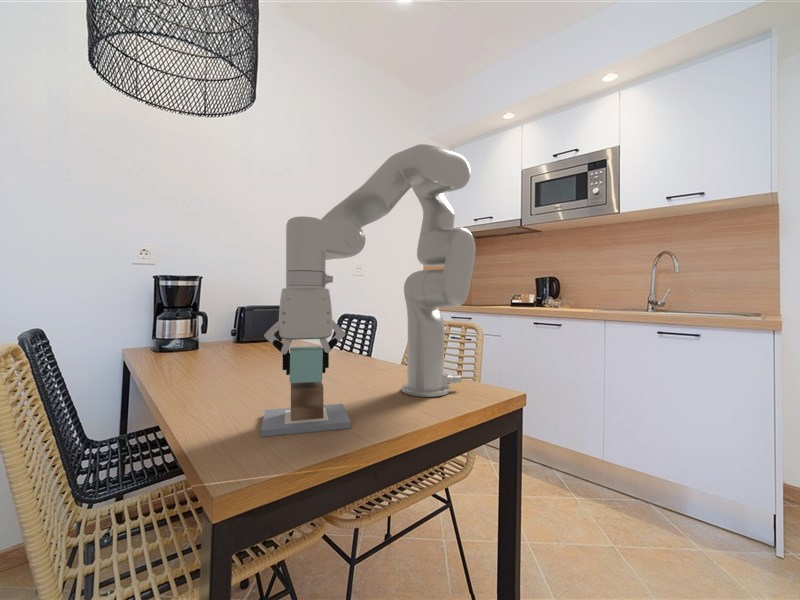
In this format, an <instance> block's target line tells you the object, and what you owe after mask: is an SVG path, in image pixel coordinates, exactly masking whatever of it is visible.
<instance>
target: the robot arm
mask: <svg viewBox="0 0 800 600" xmlns="http://www.w3.org/2000/svg"><path fill="white" fill-rule="evenodd" d="M470 166H471V165H470V164H469V162H468V160H467V159H466V158H465V156H463V155H461V154H460V153H458V152H455V151H451V150H448V149H445V148H442V147H439V146H435V145H430V144H416V145H413V146H411V147H408V148H407V149H404V150H401V151H398V152H396V153H394V154H392V155H391V156H389V157H388V158H387V159H386V160H385V161H384V163H382V165H381V166H379V167H378V168H377V170H375V172H374V173H373V174H372V175H370V177H369V178H368V179H366V181H365V182H364V183H363V184H362V185H361V186H360V187H359V188H357V189H355V190H354V191H353V192H352V193H350V194H349V195H348V196H347V197H345V199H343V200H341V202H339V203H338V204H337V205H335V206H334V207H333V208H332V209H330V210H329V211H328V212H327V213H326V214H325V215H324V216H322V218H321V219H320V218H318V217H312V216H293V217H290V218H289V219H288V220H287V222H286V225H285V226H286V228H285V265H286V267H285V268H286V269H285V282H286V283H285V287H284V288H283V287H282V288H281V292H280V300H279V311H278V321H277V322H275V323H274V324H273V325H272V326H271V327H270V328H269V329H268V330H267V331H266V332H265V333H264V335H263V336H264V338H265V339H266V340H267V341H268V342H269V343H271V344H272V346H274V347H275V349H276V350H278V352H280V353H281V354H282V371H286V372H285V375H286V376H290V347H291V344H292V341H293V340H294V341H296V340H297V341H298V340H319V342H320V344H321V348H322V350H323V368H322V374H326V369H329V367H330V361H329V360H330V358H329V355H330V352H331V351H332V349H333V348H335V346H336V345H337V344H338V343H339V342H340V341H341V340H342V339H343V338H344V337H345V336H346V332H345V330H343V329H342V328H341V327H340V326H339V325H338V324H337V323H336V322H335V321H334V320H333V312H332V311H333V310H332V302H331V294H330V293H331V292H330V289H329V288H326V286H327V284H330V283H334V276H333V275H329V274H327V272H326V262H327V261H331V260H334V259H338V260H339V259H348V258H353V257H355V256H357V255H358V254H360V253H361V252H362V251H363V250H364V247H365V245H366V235H365V232H364V230H363V227H365V226H367V225H369V224H372V223H374V222H376V221H378V220H380V219H382V218H383V217H385V216H387V215H388V214H389V213H390V212H391V211H392V210H393V209H394V208H395V206H397V204H398V203H399V201H401V200H402V198H403V197H404V196H405V195H406V193H407V192H408V191H409V190H410V189H412V191H413V192H414V194H415V196H416V198H417V199H418V201H419V204H420V205H421V209H422V220H421V221H422V222H421V227H420V231H419V232H420V233H419V237H418V242H417V247H416V257H417V260H418V262H419V264H421V265H423V266H424V267H431V268H433V267H434V268H437V267H440V268H441V267H444V268H443V269H442V268H441V269H425V270H424V269H423V270H418V271H415V272H413V273H410V274H409V275H408V276H407V277H406V279H405V281H404V286H403V294H404V301H405V305H406V311H407V382H405V383H404V384H402V385H401V392H403V394H406V395H409V396H414V397H421V398H426V397H427V398H431V397H432V398H434V397H442V396H446V395H448V394H449V393H450V392H451V390H450V389H451V387H450V385H451V384H459V383H461V382H462V376H461V375H453V374H447V373H445V323H444V319H443V316H442V312H441V311H440V308H449V309H450V308H458V307H460V306H462V305H464V303H465V302H466V301H467V299H468V295H469V293H470V288H471V284H472V278H473V271H474V266H475V260H476V250H477V248H476V242H475V238H474V236H473V234H472V233H471V232H470V230H468V228H464V227H461V226H458V227H457V226H456V227H455V225H454V224H455V218H456V217H455V211H454V208H453V207H452V205H451V204H450V202H449V201H448V199H446V197H445V195H444V194H445V193H446V194H447V193H450V192H454V191H458V190H461V189H463V188H465V187H466V186H467V184H468V183H469V181H470V179H471V167H470ZM333 331H334V332H335V335H334V336H333V337H332V338H331V339H330V340H329V341H328V338H330V337H331V336H332V335H333ZM277 332H278V335H279V336H280V338H281V339H283V340H284V341H283V343H282V342H281V341H280V340H279V339H278V338H277V337H276V336H275V333H277Z"/></svg>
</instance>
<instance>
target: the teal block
mask: <svg viewBox="0 0 800 600" xmlns="http://www.w3.org/2000/svg"><path fill="white" fill-rule="evenodd" d="M322 348H323V347H322V345H319V346H318V345H317V346H311V345H310V346H290V347H289V353H290V374H289V383H290V384H291V383H301V382H322V383H323V373H322V368H323V350H322Z"/></svg>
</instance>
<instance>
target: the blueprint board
mask: <svg viewBox="0 0 800 600" xmlns="http://www.w3.org/2000/svg"><path fill="white" fill-rule="evenodd" d="M351 428H352V420H351V418H350V416H349V414H348V412H347V410H346V408H345V405H344V404H343V403H334V404H323V418H320V419H309V420H298V421H291V407H285V408H283V407H282V408H271V409H270V408H269V409H265V410H264V415H263V418H262V422H261V427H260V437H261V438H263V437H273V436H274V437H275V436H282V435H292V434H294V435H295V434H304V433H305V434H306V433H314V432H315V433H316V432H323V431H324V432H325V431H333V430H345V429H351Z"/></svg>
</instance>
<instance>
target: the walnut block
mask: <svg viewBox="0 0 800 600" xmlns="http://www.w3.org/2000/svg"><path fill="white" fill-rule="evenodd" d="M323 405H324V385H323V381H322V382H301V383H290V408H291V421H298V420H309V419H320V418H323Z"/></svg>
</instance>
